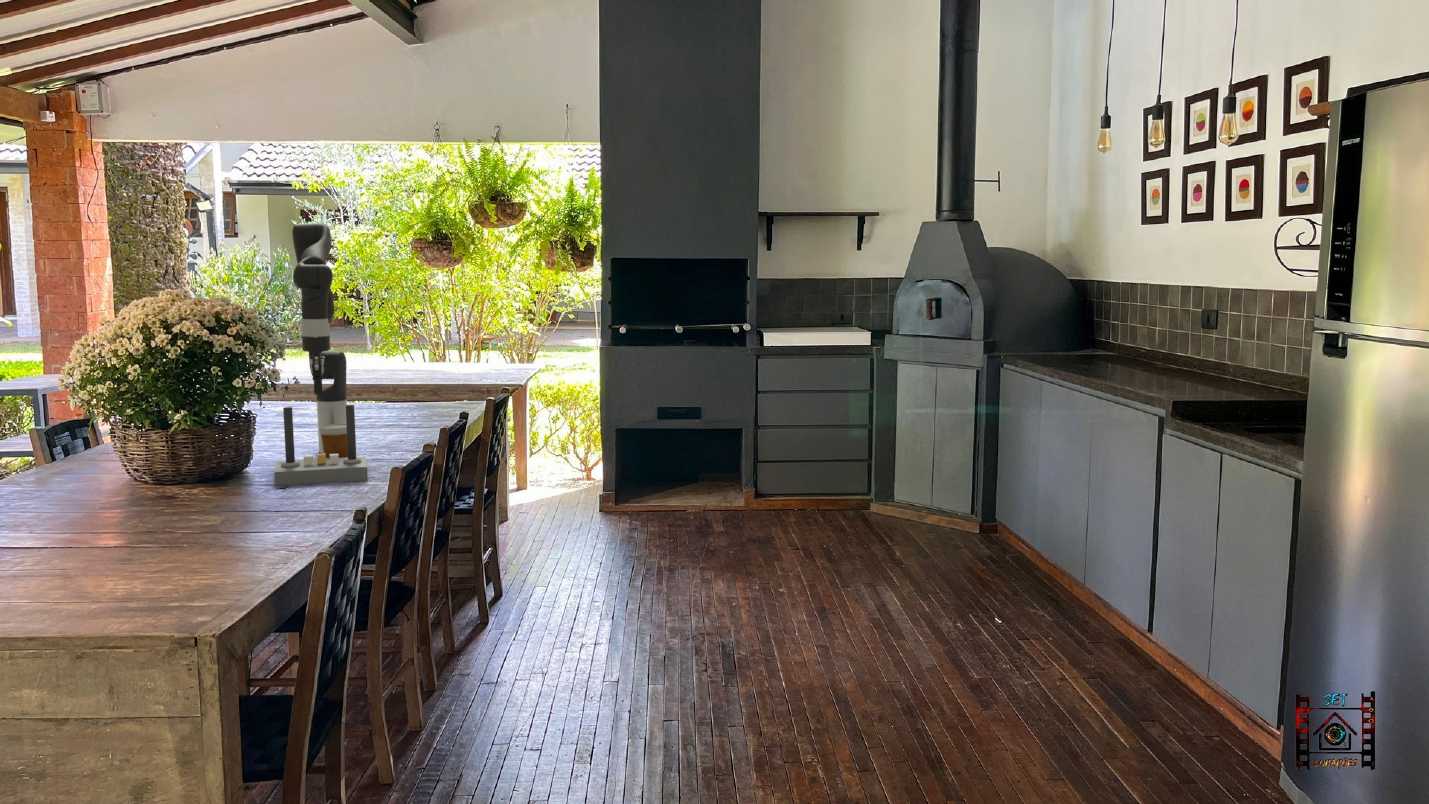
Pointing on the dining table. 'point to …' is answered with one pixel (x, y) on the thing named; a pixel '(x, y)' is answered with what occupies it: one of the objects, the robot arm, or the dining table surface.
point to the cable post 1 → (289, 439)
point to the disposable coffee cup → (334, 439)
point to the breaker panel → (320, 471)
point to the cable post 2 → (351, 436)
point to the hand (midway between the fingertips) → (318, 393)
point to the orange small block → (321, 458)
